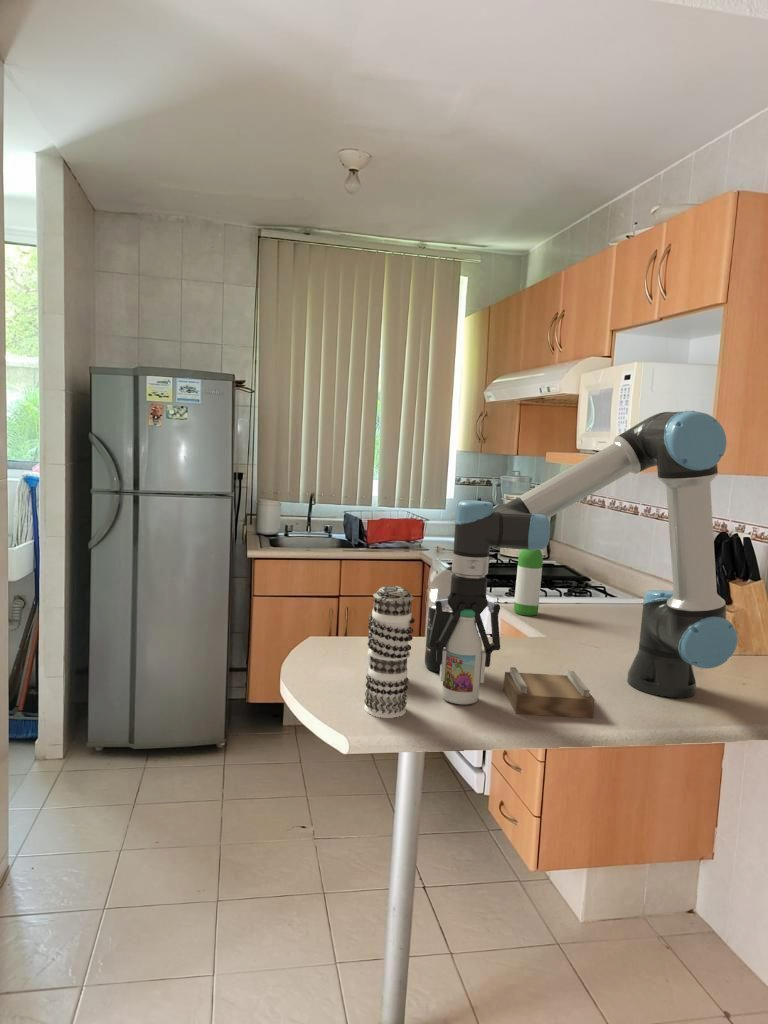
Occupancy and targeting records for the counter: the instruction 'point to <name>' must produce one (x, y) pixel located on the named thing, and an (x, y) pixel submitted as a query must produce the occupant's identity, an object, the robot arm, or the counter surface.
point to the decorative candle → (389, 652)
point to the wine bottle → (528, 582)
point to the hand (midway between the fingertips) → (461, 679)
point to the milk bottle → (463, 661)
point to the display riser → (548, 694)
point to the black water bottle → (437, 591)
